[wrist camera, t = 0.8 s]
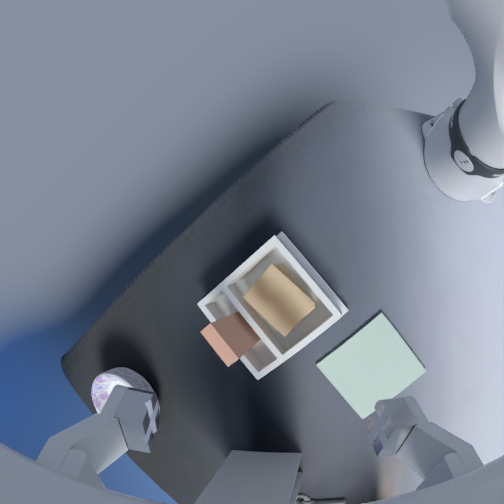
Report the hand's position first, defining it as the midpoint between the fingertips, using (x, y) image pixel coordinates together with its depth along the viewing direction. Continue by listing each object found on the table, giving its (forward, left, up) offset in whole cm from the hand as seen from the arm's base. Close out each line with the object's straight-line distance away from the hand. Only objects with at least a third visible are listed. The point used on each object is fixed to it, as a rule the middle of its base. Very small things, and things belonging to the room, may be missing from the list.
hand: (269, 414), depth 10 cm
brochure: (+29, +20, -41) cm, 54 cm away
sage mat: (+1, +15, -41) cm, 43 cm away
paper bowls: (+44, -7, -41) cm, 60 cm away
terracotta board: (+13, -4, -40) cm, 42 cm away
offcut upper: (+5, -4, -38) cm, 38 cm away
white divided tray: (+7, -4, -41) cm, 42 cm away
